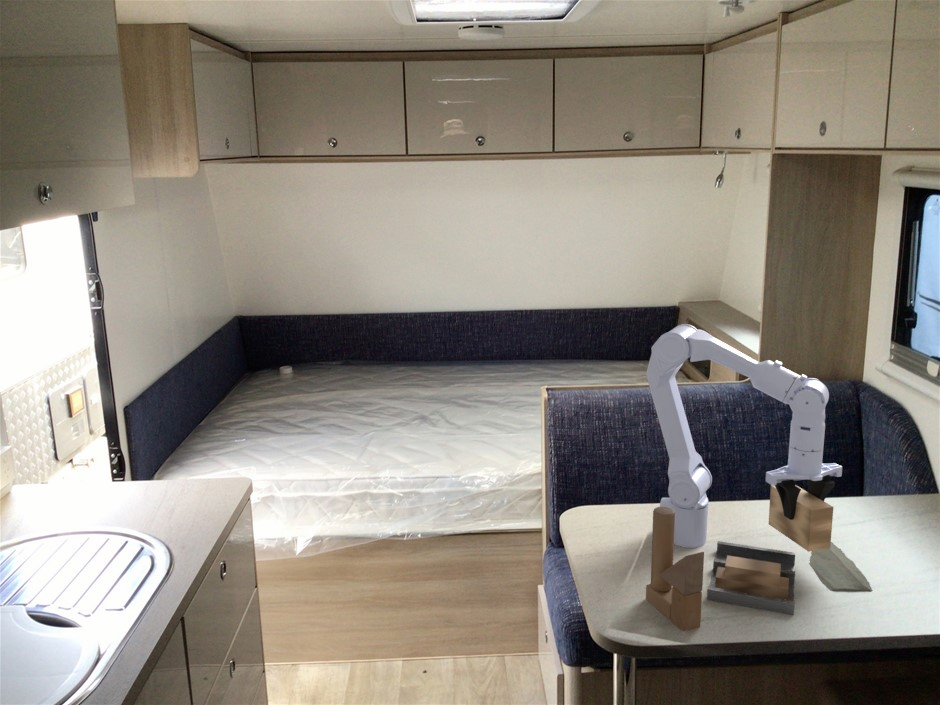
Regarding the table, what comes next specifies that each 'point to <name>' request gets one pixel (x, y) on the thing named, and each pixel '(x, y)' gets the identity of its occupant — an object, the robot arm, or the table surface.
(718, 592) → the rack
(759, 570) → the walnut offcut upper
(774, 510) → the oak board
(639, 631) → the table surface
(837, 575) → the stone slab
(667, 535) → the wooden block
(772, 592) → the walnut offcut lower
